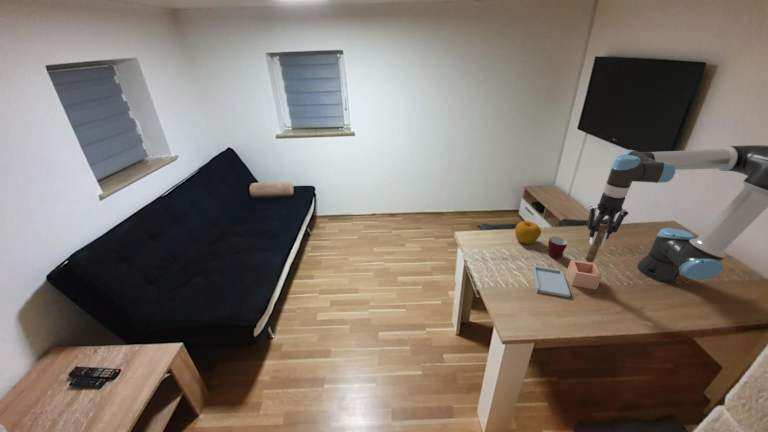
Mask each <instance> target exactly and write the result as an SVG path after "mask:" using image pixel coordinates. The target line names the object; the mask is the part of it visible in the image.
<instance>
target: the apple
mask: <svg viewBox="0 0 768 432" xmlns="http://www.w3.org/2000/svg"><path fill="white" fill-rule="evenodd" d="M514 231H515V232H514V233H515V237H516V239H517V241H518V242H519V243H521V244H524V245H531V244H533V243H535V241H537V240H538V239H539V238H540V236H541V235H542V229H541V227H539V226H538V225H537V224H536V223H535V222H532V221H528V220H523V221H520V222H519V223H517V224H516V226H515V230H514Z"/></svg>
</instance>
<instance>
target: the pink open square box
mask: <svg viewBox="0 0 768 432" xmlns="http://www.w3.org/2000/svg"><path fill="white" fill-rule="evenodd" d="M566 274H567V277H568V279H569V282H570V285H571V286H573V287H579V288H585V289H588V290H589V289H590V290H597V289H598V287H599V286H600V285H599V284H600V282H601V280H602V274H601V273H600V271H599V268H598V266H597V265H596V263H594V262H588V261H583V260H582V261H581V260H575V259H570V262H569V264H568V267H567V269H566Z"/></svg>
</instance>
